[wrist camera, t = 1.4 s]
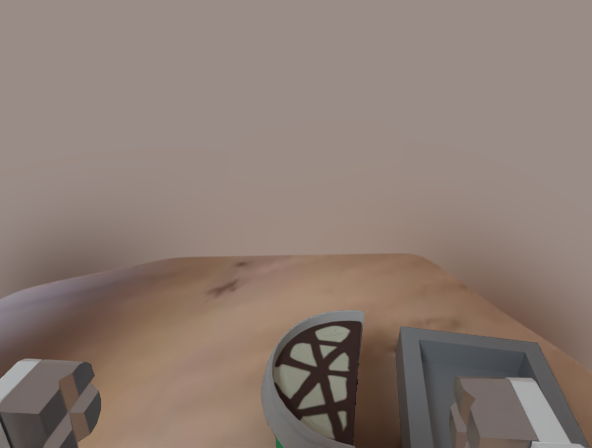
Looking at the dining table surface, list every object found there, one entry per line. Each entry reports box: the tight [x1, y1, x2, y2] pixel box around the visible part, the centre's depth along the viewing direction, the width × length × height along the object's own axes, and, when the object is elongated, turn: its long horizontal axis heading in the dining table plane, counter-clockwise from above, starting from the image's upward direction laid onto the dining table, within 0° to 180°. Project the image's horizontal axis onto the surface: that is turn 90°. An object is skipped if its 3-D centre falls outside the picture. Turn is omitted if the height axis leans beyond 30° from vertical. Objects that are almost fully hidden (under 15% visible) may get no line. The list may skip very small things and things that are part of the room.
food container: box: [261, 310, 364, 448], centre depth 30 cm, size 12×6×10 cm, turn 170°
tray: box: [396, 326, 590, 448], centre depth 32 cm, size 12×18×4 cm, turn 171°
